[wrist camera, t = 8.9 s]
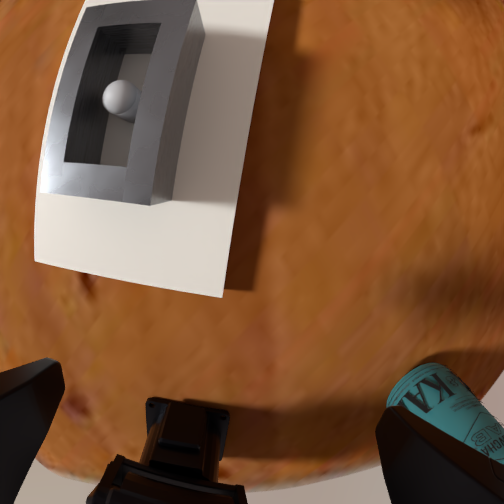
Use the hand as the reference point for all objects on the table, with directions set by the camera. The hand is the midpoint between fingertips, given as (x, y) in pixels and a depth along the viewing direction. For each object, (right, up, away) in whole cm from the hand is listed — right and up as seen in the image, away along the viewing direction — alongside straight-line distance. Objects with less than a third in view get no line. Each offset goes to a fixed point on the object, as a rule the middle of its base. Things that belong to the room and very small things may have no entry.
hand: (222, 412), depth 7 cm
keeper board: (-6, +12, +9) cm, 16 cm away
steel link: (-6, +12, +8) cm, 16 cm away
